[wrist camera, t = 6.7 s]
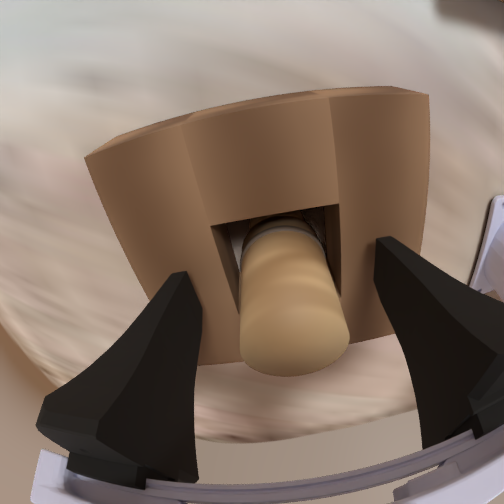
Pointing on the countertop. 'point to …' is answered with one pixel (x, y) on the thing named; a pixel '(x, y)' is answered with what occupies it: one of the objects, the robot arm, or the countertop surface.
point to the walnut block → (270, 194)
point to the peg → (288, 299)
